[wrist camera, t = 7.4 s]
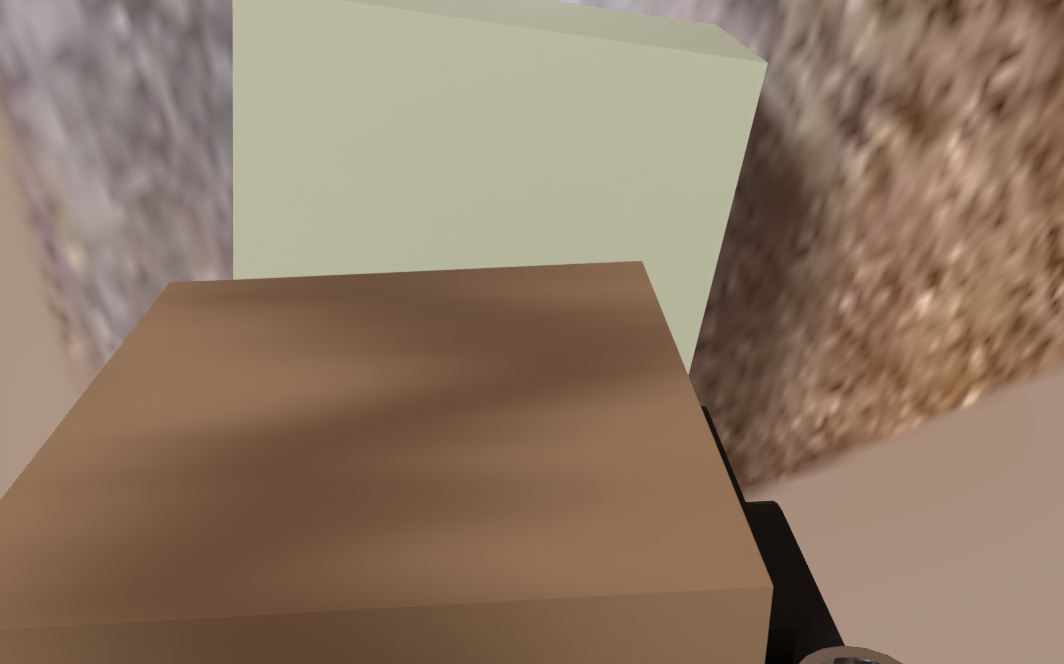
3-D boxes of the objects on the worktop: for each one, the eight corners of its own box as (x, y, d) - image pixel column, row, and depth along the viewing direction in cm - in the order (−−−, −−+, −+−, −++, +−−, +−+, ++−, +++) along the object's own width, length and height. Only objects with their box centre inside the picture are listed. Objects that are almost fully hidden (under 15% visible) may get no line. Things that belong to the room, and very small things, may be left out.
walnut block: (642, 260, 12) (772, 586, 6) (633, 614, 14) (720, 1052, 9) (169, 282, 12) (-105, 636, 6) (250, 636, 14) (108, 1094, 9)
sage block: (714, 23, 22) (767, 63, 17) (633, 382, 26) (660, 487, 22) (290, -41, 21) (232, -16, 16) (281, 342, 25) (233, 443, 21)
